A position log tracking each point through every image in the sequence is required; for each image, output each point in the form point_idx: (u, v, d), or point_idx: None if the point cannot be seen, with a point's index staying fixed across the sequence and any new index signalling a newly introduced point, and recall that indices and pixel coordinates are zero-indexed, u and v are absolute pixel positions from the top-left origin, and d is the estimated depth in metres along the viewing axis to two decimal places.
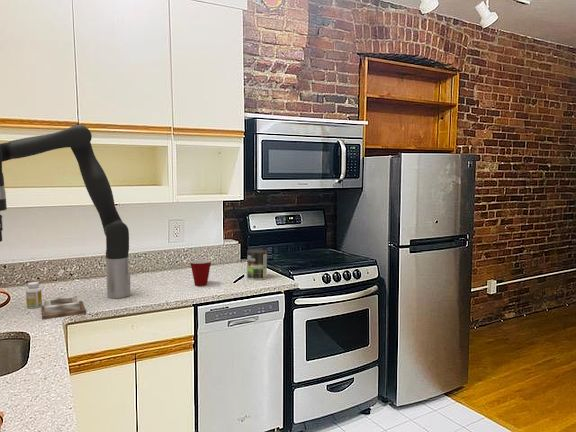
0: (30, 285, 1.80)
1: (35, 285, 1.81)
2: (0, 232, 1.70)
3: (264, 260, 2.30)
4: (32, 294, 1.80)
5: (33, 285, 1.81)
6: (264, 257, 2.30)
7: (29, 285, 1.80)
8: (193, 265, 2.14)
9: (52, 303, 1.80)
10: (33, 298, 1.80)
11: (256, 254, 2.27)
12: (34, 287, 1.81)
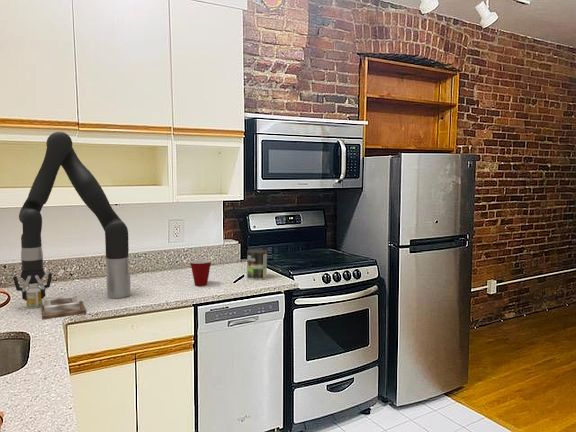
0: (30, 285, 1.80)
1: (35, 285, 1.81)
2: None
3: (264, 260, 2.30)
4: (32, 294, 1.80)
5: (33, 285, 1.81)
6: (264, 257, 2.30)
7: (29, 285, 1.80)
8: (193, 265, 2.14)
9: (52, 303, 1.80)
10: (33, 298, 1.80)
11: (256, 254, 2.27)
12: (34, 287, 1.81)
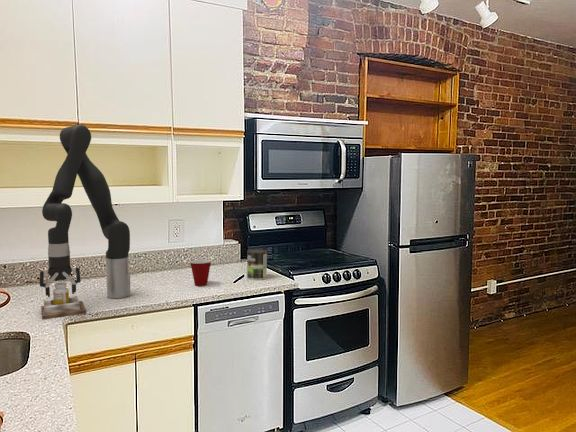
0: (58, 285, 1.75)
1: (63, 285, 1.76)
2: (75, 284, 1.81)
3: (264, 260, 2.30)
4: (59, 294, 1.75)
5: (61, 285, 1.76)
6: (264, 257, 2.30)
7: (57, 285, 1.75)
8: (193, 265, 2.14)
9: (52, 303, 1.80)
10: (61, 298, 1.75)
11: (256, 254, 2.27)
12: (62, 288, 1.76)
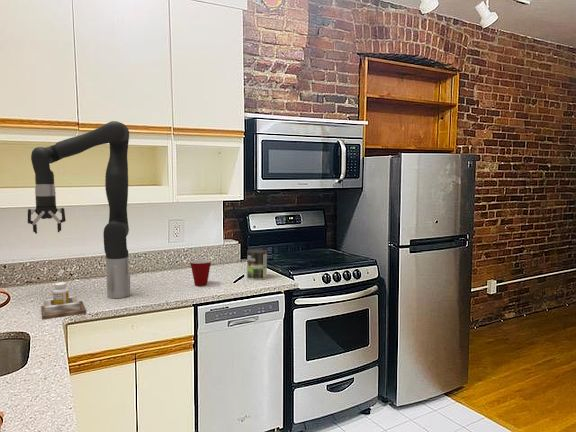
0: (58, 286, 1.75)
1: (63, 285, 1.76)
2: (60, 223, 1.97)
3: (264, 260, 2.30)
4: (59, 294, 1.75)
5: (61, 286, 1.76)
6: (264, 257, 2.30)
7: (56, 286, 1.75)
8: (193, 265, 2.14)
9: (52, 303, 1.80)
10: (61, 298, 1.75)
11: (256, 254, 2.27)
12: (62, 288, 1.76)
